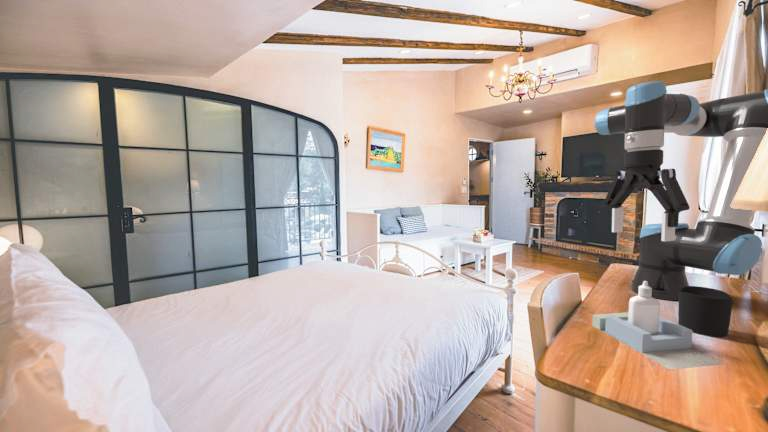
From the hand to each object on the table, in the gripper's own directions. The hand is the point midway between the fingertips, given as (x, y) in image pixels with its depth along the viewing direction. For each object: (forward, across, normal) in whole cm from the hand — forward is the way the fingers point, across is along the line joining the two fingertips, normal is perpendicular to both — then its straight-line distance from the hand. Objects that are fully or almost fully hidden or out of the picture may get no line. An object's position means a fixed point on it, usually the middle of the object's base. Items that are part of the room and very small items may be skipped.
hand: (640, 236), depth 82 cm
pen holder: (+24, +6, +12) cm, 27 cm away
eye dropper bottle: (+21, +7, -6) cm, 23 cm away
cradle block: (+22, +8, -6) cm, 25 cm away
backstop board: (+23, +9, -6) cm, 26 cm away
